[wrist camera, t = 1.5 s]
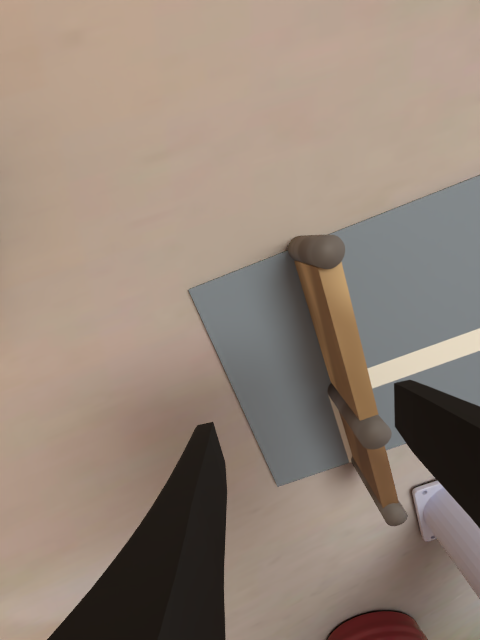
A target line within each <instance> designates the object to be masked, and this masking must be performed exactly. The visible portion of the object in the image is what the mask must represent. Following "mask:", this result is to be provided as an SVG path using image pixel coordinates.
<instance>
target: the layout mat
mask: <svg viewBox="0 0 480 640" xmlns="http://www.w3.org/2000/svg"><path fill="white" fill-rule="evenodd" d="M328 235H336V236H338V237H339V238H341V240H342V241H343V243H344V245H345V255H344V258H343V260H342V261H341V262H342V266H343V270H344V274H345V278H346V282H347V286H348V291H349V295H350V299H351V303H352V307H353V311H354V315H355V319H356V324H357V328H358V332H359V336H360V340H361V344H362V348H363V353H364V357H365V361H366V365H367V369H368V373H369V377H370V381H371V386H372V390H373V394H374V398H375V402H376V406H377V410H378V415H379V416H380V417H381V419H382V420H383V421H384V422H385V423H386V424H387V425H388V427H389V428H390V429H391V432H392V435H391V438H390V440H389V442H388V443H387V444H386V445H385V449H386V450H388V449H391V448H394V447H397V446H400V445H403V444H406V442H405V441H404V439H403V438H402V436H401V435H400V433H399V432H398V430H397V429H396V427H395V412H394V383H396V382H401V381H406V380H413V381H416V382H418V383H421V384H424V385H427V386H429V387H432V388H434V389H437V390H439V391H442V392H444V393H447V394H449V395H452V396H454V397H457V398H459V399H462V400H465V401H467V402H470V403H472V404H475V405H477V406H480V175H478V176H476V177H473V178H471V179H468V180H466V181H463V182H460V183H458V184H455V185H453V186H450V187H448V188H445V189H443V190H440V191H438V192H435V193H432V194H430V195H427V196H425V197H422V198H420V199H417V200H415V201H412V202H410V203H407V204H404V205H402V206H399V207H397V208H394V209H392V210H389V211H387V212H384V213H382V214H379V215H376V216H374V217H371V218H369V219H366V220H364V221H361V222H359V223H356V224H354V225H351V226H348V227H346V228H343V229H341V230H338V231H336V232H333V233H331V234H328ZM294 261H295V260H294V259H292V258H291V257H290V255H289V253H288V250H287V251H285V252H282V253H280V254H277V255H275V256H272V257H270V258H267V259H264V260H262V261H259V262H257V263H254V264H252V265H249V266H247V267H244V268H242V269H239V270H236V271H234V272H231V273H229V274H226V275H224V276H221V277H219V278H216V279H214V280H211V281H208V282H206V283H203V284H201V285H198V286H196V287H193V288H191V289H189V292H190V295H191V297H192V299H193V301H194V303H195V306H196V308H197V310H198V312H199V314H200V317H201V319H202V321H203V323H204V325H205V328H206V330H207V332H208V334H209V336H210V339H211V341H212V343H213V345H214V347H215V350H216V352H217V354H218V356H219V359H220V361H221V363H222V365H223V367H224V370H225V372H226V374H227V376H228V378H229V381H230V383H231V385H232V387H233V389H234V392H235V394H236V396H237V398H238V400H239V403H240V405H241V407H242V409H243V411H244V414H245V416H246V418H247V420H248V422H249V425H250V427H251V429H252V431H253V433H254V436H255V438H256V440H257V442H258V444H259V447H260V449H261V451H262V453H263V455H264V458H265V460H266V462H267V464H268V466H269V469H270V471H271V473H272V475H273V478H274V480H275V482H276V484H277V486H278V487H279V486H282V485H285V484H288V483H291V482H294V481H297V480H300V479H302V478H305V477H308V476H311V475H314V474H317V473H320V472H323V471H326V470H329V469H332V468H335V467H338V466H341V465H344V464H347V463H350V462H351V458H352V452H351V449H350V446H349V443H348V439H347V436H346V433H345V429H344V426H343V423H342V419H341V416H340V413H339V410H338V408H337V407H336V405H335V404H334V402H333V401H332V399H331V398H330V396H329V395H328V387H329V385H330V384H331V381H330V378H329V375H328V371H327V368H326V365H325V361H324V358H323V355H322V351H321V348H320V345H319V342H318V338H317V335H316V332H315V328H314V325H313V322H312V318H311V315H310V312H309V308H308V305H307V302H306V299H305V295H304V292H303V289H302V285H301V282H300V279H299V275H298V272H297V269H296V265H295V262H294Z"/></svg>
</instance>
